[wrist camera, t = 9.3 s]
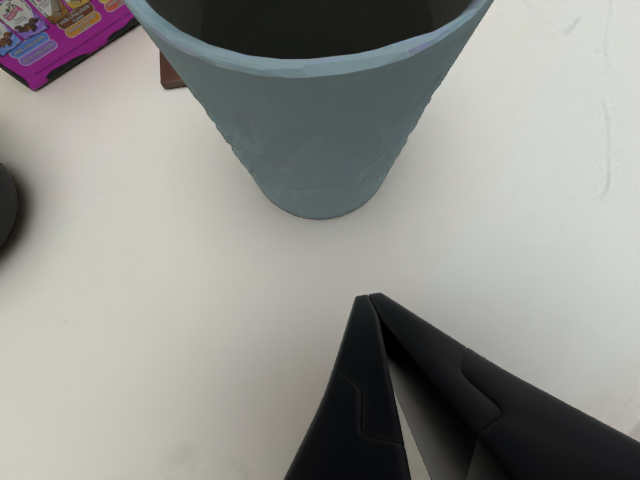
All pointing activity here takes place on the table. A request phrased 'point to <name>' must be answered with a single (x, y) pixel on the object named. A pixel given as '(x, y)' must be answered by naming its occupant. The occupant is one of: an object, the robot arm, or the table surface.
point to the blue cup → (312, 84)
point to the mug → (7, 204)
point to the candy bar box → (56, 35)
